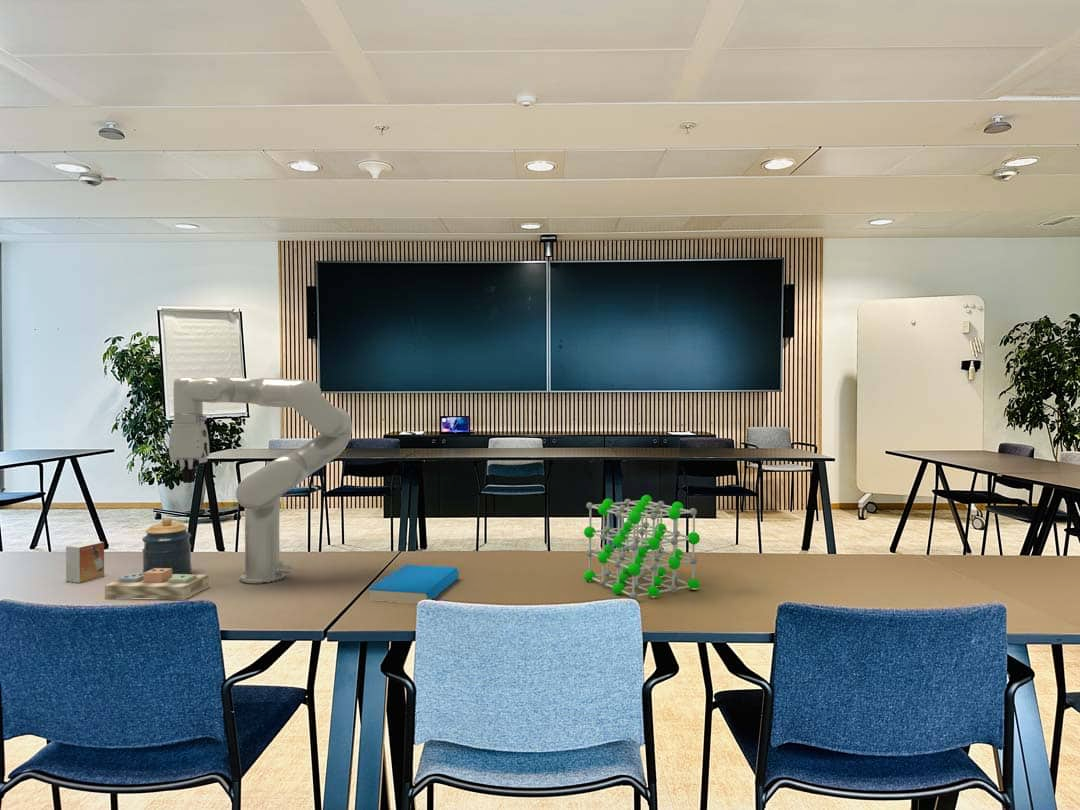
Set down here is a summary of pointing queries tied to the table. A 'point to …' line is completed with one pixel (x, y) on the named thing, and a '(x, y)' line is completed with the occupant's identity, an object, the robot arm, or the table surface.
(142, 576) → the building block
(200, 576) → the wooden tile tray
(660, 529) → the molecular structure model
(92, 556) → the small box
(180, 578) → the tile
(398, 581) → the book
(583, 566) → the table surface
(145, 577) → the orange square block
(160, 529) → the canister
